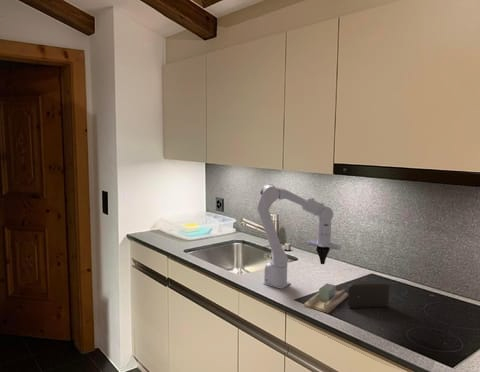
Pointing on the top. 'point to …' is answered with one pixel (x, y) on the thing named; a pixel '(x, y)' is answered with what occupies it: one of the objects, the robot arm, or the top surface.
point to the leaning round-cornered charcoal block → (368, 294)
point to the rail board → (324, 305)
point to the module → (327, 292)
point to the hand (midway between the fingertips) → (322, 263)
